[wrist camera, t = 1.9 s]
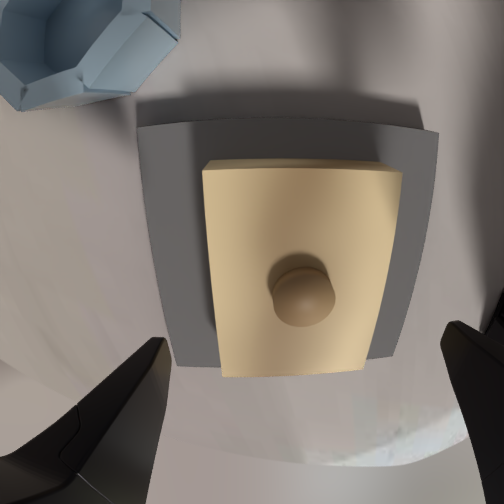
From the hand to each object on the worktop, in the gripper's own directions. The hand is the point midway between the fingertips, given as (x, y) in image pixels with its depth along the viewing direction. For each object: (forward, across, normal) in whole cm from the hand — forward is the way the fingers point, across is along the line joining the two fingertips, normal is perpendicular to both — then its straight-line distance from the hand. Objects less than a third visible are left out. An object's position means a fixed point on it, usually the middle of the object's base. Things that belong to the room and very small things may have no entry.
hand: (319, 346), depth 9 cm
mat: (+6, 0, 0) cm, 6 cm away
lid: (+5, 0, 0) cm, 5 cm away
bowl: (+6, +8, -11) cm, 15 cm away
